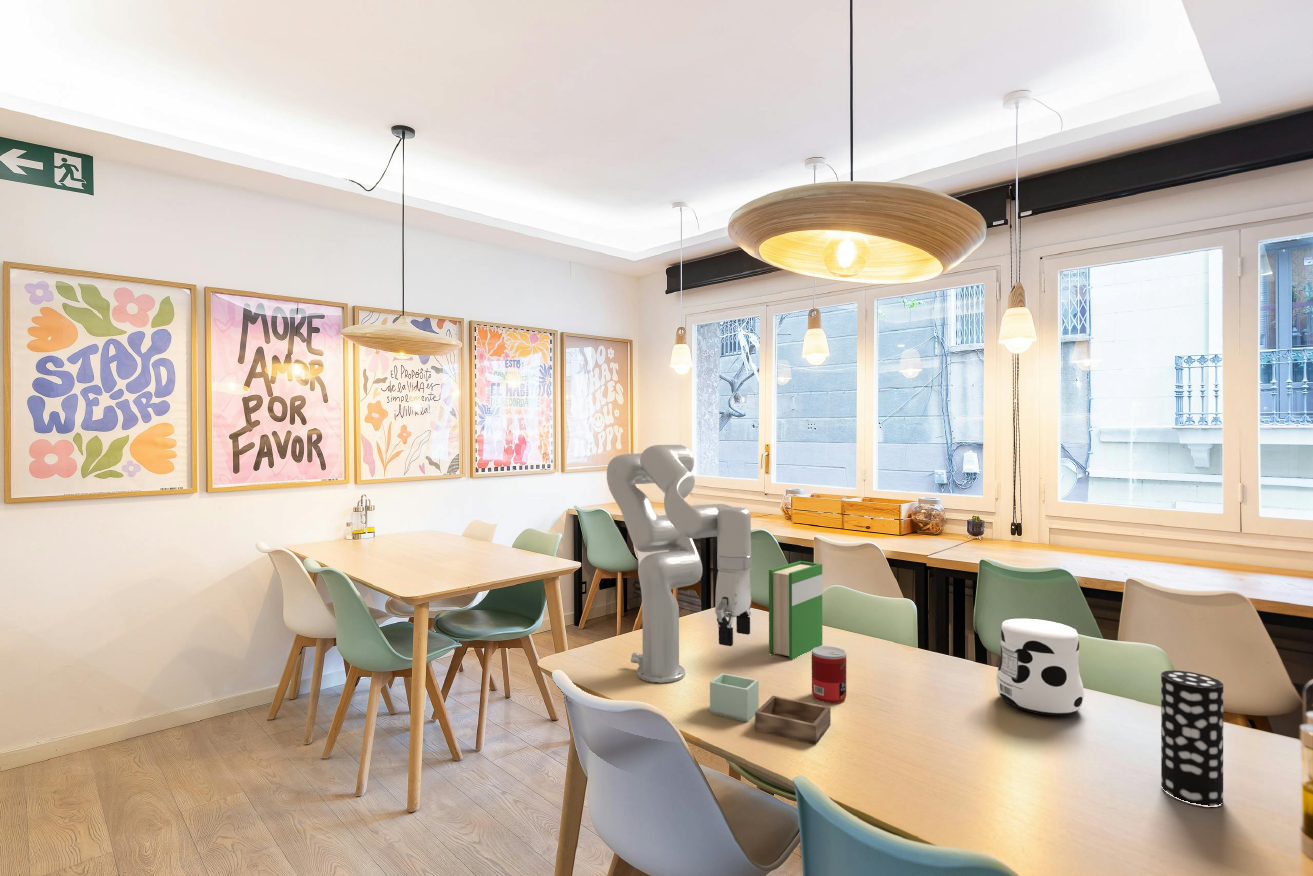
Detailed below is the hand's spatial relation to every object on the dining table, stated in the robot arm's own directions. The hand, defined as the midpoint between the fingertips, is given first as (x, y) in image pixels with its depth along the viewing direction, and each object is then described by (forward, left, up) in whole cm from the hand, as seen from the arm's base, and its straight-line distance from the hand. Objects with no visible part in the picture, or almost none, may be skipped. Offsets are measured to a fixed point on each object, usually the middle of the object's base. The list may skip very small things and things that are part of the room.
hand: (734, 639), depth 149 cm
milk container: (+59, +38, -17) cm, 72 cm away
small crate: (0, 0, -17) cm, 17 cm away
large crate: (+14, -1, -17) cm, 22 cm away
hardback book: (-2, +49, -17) cm, 52 cm away
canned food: (+16, +19, -17) cm, 30 cm away
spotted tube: (+82, +8, -17) cm, 84 cm away
